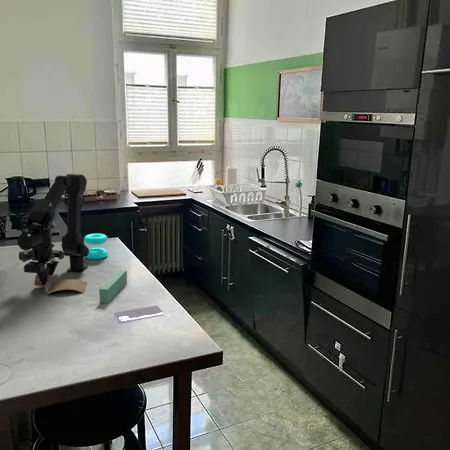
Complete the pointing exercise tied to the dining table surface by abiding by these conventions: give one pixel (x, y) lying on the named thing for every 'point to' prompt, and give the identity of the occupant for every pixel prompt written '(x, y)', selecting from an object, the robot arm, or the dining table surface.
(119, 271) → the bar
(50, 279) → the tan block on bar
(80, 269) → the robot arm
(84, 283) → the clay tablet
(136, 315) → the mobile phone
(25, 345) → the dining table surface
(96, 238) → the donuts
